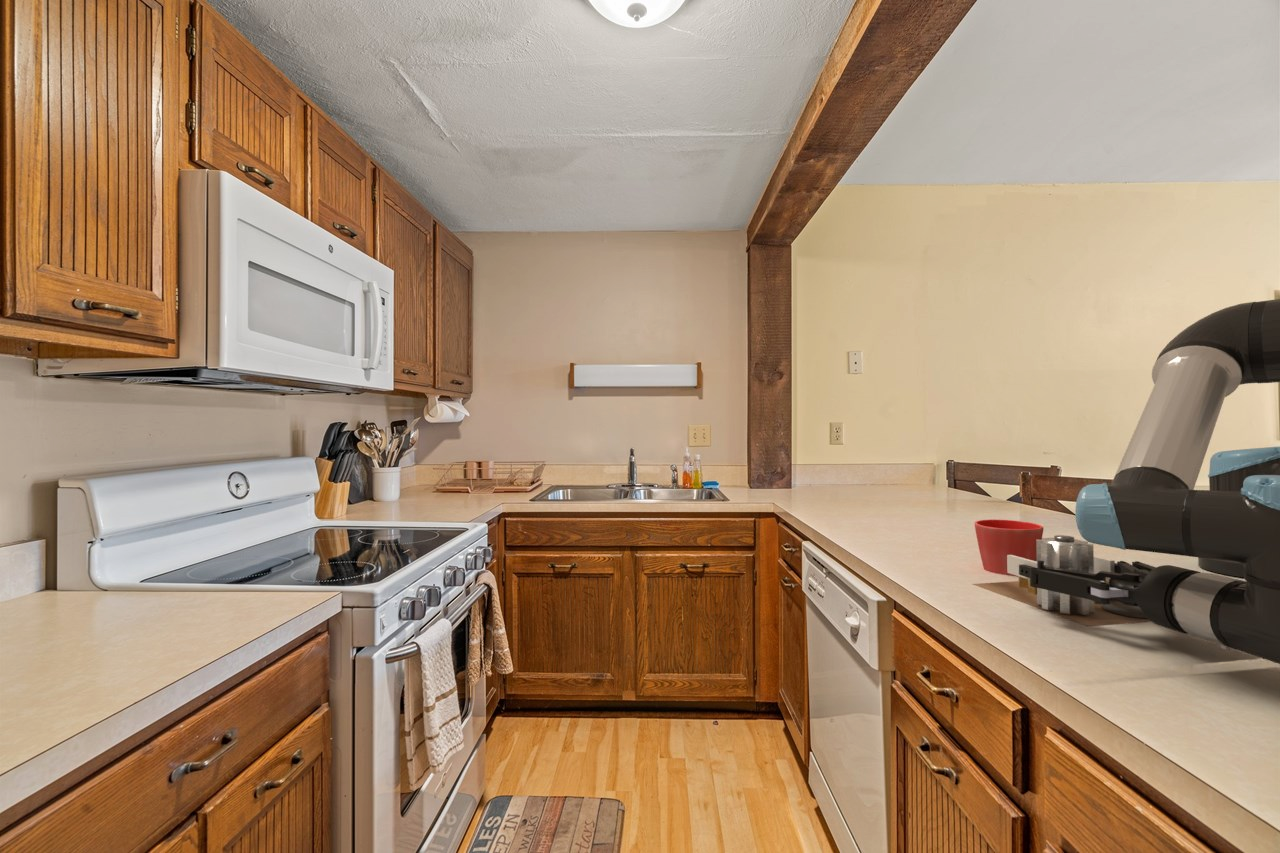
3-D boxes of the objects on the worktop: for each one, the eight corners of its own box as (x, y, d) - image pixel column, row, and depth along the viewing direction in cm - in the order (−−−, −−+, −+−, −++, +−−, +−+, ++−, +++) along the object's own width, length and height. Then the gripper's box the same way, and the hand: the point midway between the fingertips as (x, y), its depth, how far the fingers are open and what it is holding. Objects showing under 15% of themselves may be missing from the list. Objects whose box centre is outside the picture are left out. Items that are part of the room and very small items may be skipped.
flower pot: (1049, 586, 104) (1048, 530, 104) (977, 579, 108) (976, 526, 108) (1038, 572, 113) (1038, 521, 113) (973, 567, 118) (972, 518, 118)
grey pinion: (1065, 600, 92) (1064, 531, 92) (1106, 614, 85) (1105, 540, 85) (1026, 603, 91) (1025, 533, 91) (1064, 617, 84) (1063, 542, 84)
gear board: (1069, 583, 105) (1069, 576, 105) (1206, 624, 83) (1206, 614, 83) (972, 589, 102) (972, 582, 102) (1087, 633, 80) (1087, 623, 80)
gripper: (1111, 642, 68) (974, 590, 90) (1277, 629, 72) (1106, 582, 94) (1110, 576, 68) (974, 540, 90) (1276, 566, 72) (1106, 534, 94)
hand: (1041, 561), depth 92 cm, fingers open, 10 cm apart
